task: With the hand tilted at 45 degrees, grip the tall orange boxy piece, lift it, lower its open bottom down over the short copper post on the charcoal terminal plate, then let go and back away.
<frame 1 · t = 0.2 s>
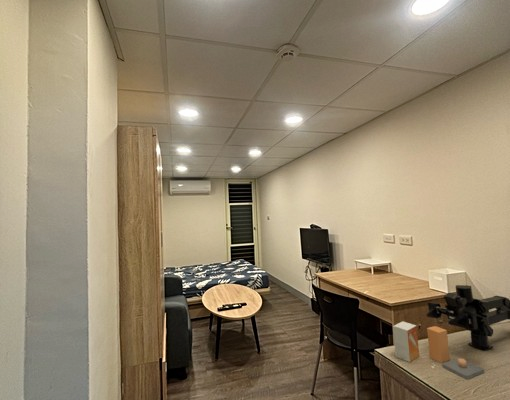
hand: (437, 319, 112), 17 cm above the table, tool horizontal, fingers open, 9 cm apart
orange boxy piece: (439, 358, 111), on the table
small box: (407, 357, 114), on the table
terminal plate: (462, 369, 103), on the table
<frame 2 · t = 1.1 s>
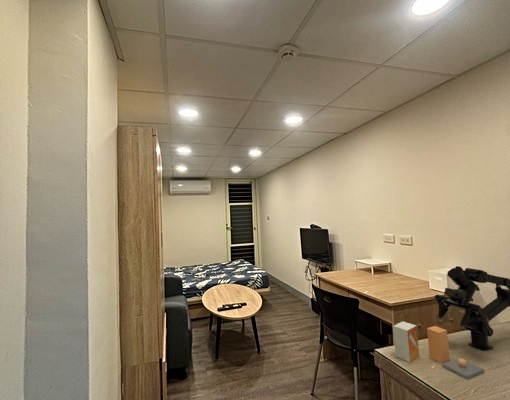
hand: (449, 321, 115), 14 cm above the table, tool tilted 45°, fingers open, 9 cm apart
nothing on the table moved.
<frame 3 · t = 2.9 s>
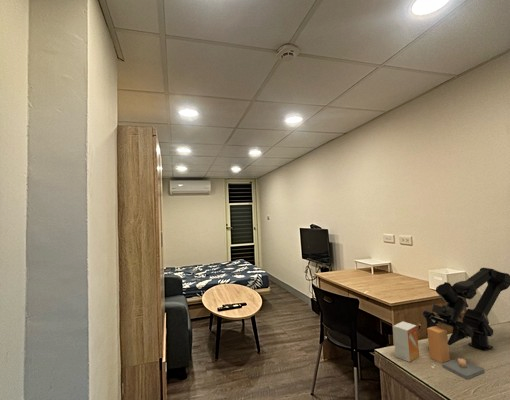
hand: (437, 339, 112), 8 cm above the table, tool tilted 45°, fingers open, 9 cm apart
nothing on the table moved.
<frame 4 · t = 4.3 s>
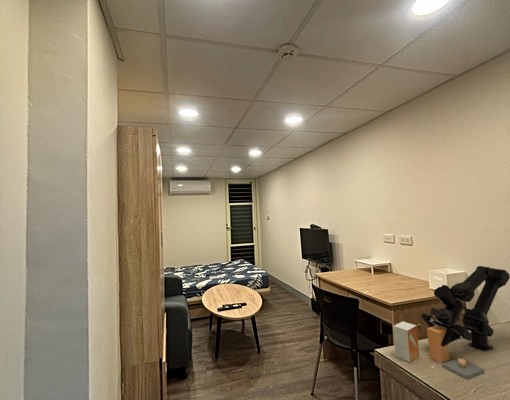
hand: (435, 343, 111), 7 cm above the table, tool tilted 45°, fingers closed on orange boxy piece, 5 cm apart
orange boxy piece: (439, 358, 111), on the table, touching gripper
everything else where it was.
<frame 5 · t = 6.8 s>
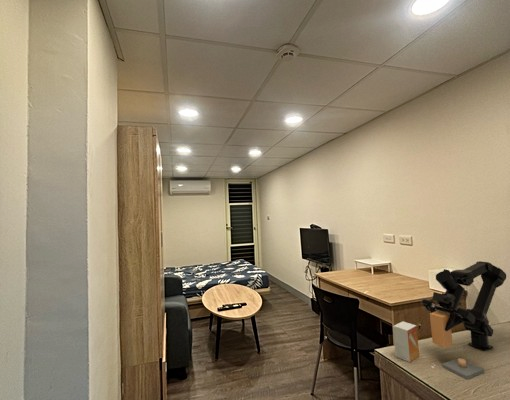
hand: (438, 328, 110), 14 cm above the table, tool tilted 45°, fingers closed on orange boxy piece, 5 cm apart
orange boxy piece: (442, 343, 110), point 7 cm above the table, touching gripper
everything else where it was.
when the fingers open (9 cm above the table, at t = 9.5 s): orange boxy piece stays where it is, resting on terminal plate.
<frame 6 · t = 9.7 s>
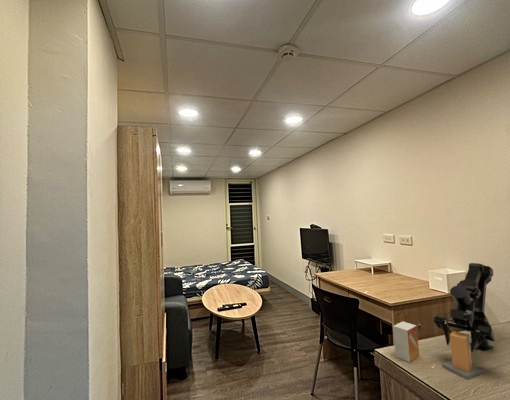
hand: (459, 348, 103), 9 cm above the table, tool tilted 45°, fingers open, 7 cm apart
orange boxy piece: (462, 366, 103), point 1 cm above the table, touching terminal plate
everything else where it was.
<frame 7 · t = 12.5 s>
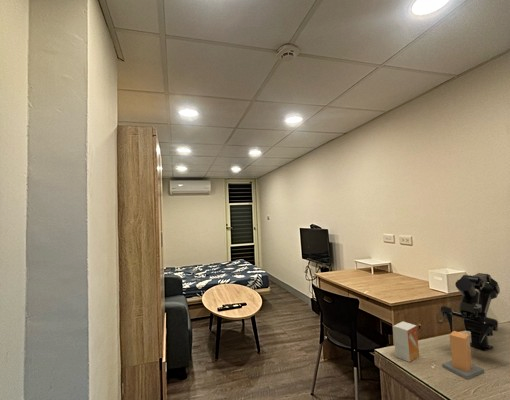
hand: (465, 337, 109), 9 cm above the table, tool tilted 40°, fingers open, 9 cm apart
nothing on the table moved.
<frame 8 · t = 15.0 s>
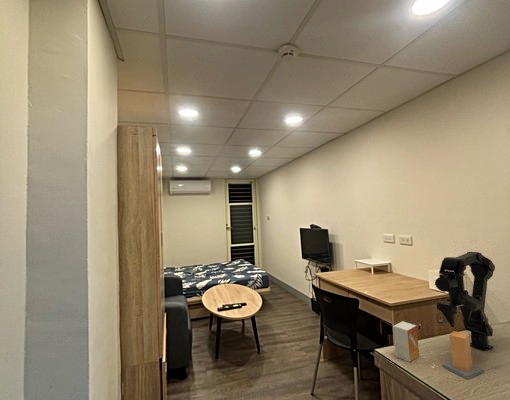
hand: (459, 324, 113), 13 cm above the table, tool pointing down, fingers open, 9 cm apart
nothing on the table moved.
at the end: orange boxy piece 0.1 cm from the terminal plate (horizontally); orange boxy piece point 1.2 cm above the table; orange boxy piece tilted 0° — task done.
